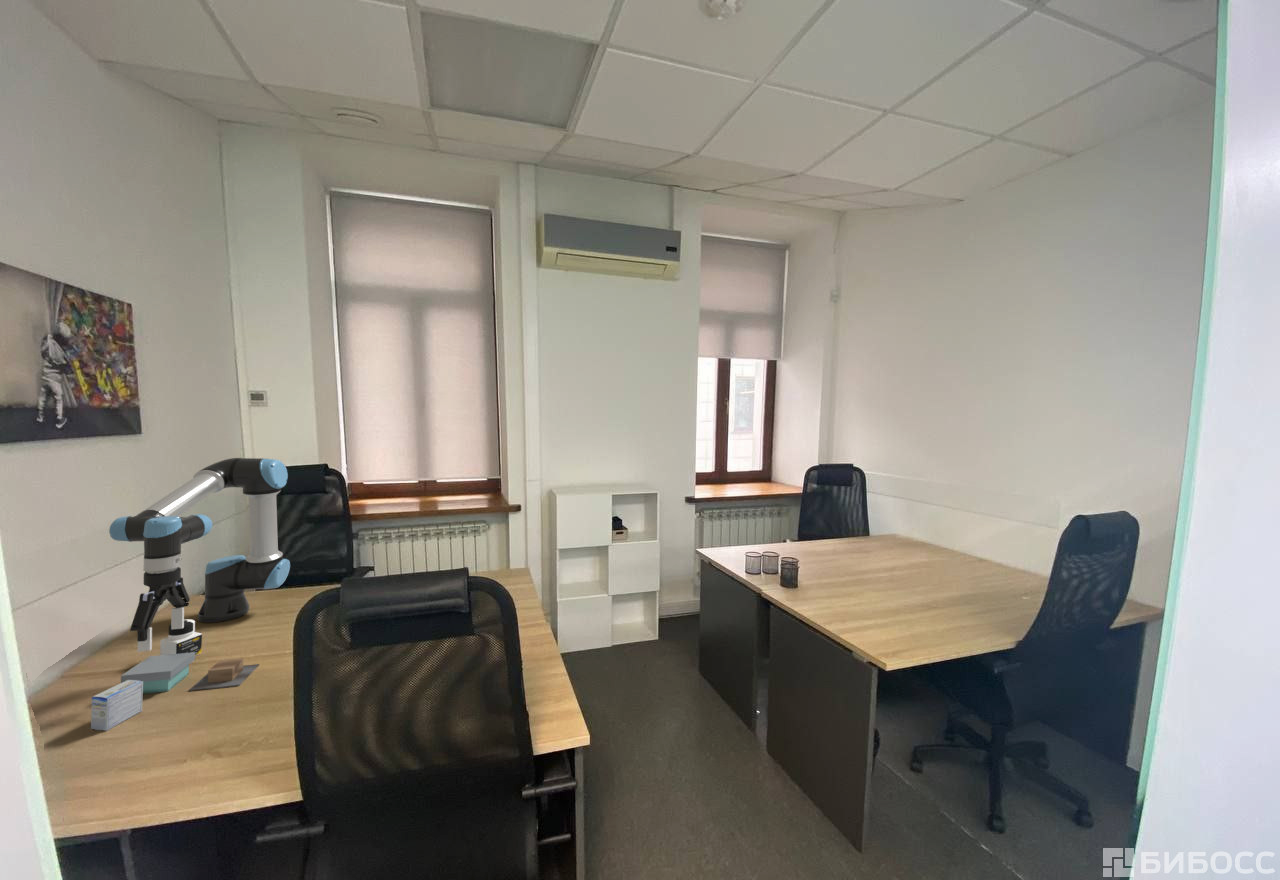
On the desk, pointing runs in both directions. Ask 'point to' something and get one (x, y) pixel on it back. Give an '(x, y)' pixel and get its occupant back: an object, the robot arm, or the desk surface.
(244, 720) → the desk surface
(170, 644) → the medicine bottle
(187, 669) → the dish
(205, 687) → the stand
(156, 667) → the cover plate
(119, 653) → the desk surface
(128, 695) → the medicine box
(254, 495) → the robot arm
